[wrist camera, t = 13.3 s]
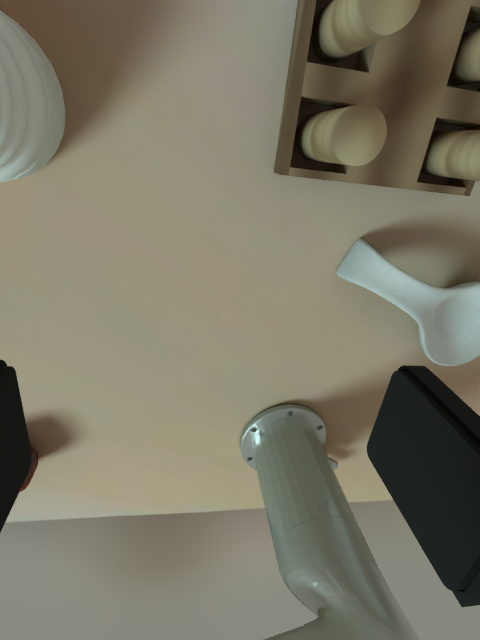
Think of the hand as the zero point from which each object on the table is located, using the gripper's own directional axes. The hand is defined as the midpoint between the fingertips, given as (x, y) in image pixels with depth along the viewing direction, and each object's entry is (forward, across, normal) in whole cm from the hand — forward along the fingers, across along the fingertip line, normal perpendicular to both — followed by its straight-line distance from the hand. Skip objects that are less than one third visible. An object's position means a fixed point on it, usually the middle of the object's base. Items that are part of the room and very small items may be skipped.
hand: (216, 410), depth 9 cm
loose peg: (+30, -12, -8) cm, 33 cm away
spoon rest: (+31, -28, +8) cm, 43 cm away
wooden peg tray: (+30, -18, -12) cm, 37 cm away
